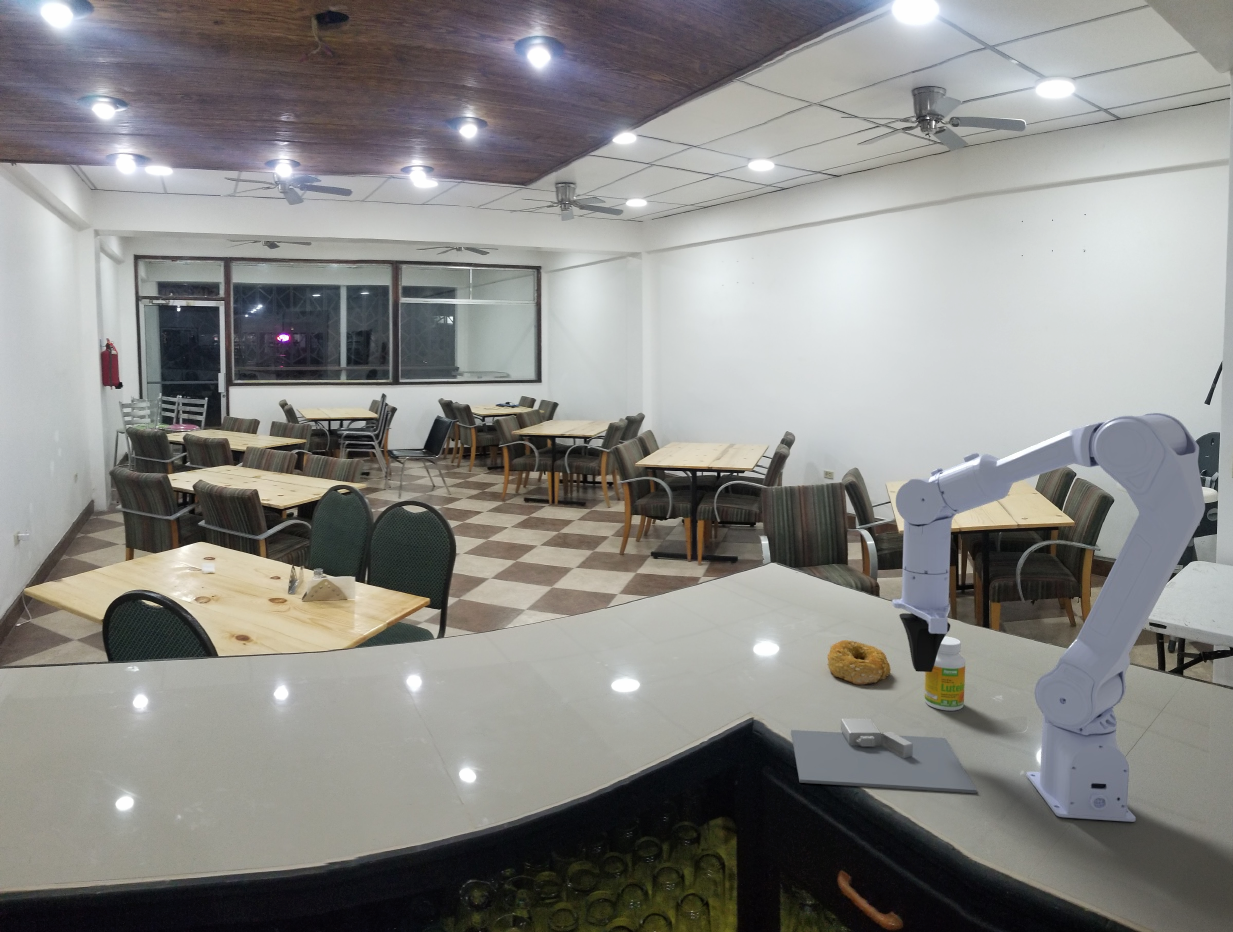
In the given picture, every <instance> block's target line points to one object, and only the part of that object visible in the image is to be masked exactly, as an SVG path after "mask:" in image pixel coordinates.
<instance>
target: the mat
mask: <svg viewBox="0 0 1233 932" xmlns="http://www.w3.org/2000/svg"><path fill="white" fill-rule="evenodd" d="M790 734H791V738H792V739H791V740H792V746H793V751H794V757H795V763H796V770H797V774H798V781H799V783H802V784H803V783H805V784H817V785H818V784H819V785H820V784H821V785H831V786H832V785H836V786H848V787H849V786H850V787H851V786H853V787H865V788H866V787H867V788H868V787H869V788H880V789H881V788H883V789H899V790H900V789H901V790H915V791H934V792H945V793H946V792H949V793H950V792H951V793H964V794H966V793H968V794H977V792H978V791H977V788H976V787H975V785H974V783H973V782H972V779H971V778H970V776H969V775H968V773H967V772H966V770H965V769H964V767H963V765H962V764H961V761H960V760H959V758H958V757H957V755H956V753H955V752H954V749H952V747H951V745H950V744H949V742H948V740H947V738H946V737H935V736H917V735H916V736H914V735H899V736H900V737H902V738H903V739H905V740H907V741H909V742H911V743H912V744H913V756H911V757H907V758H902V757H900V756H899V755H897V754H895V753H893V752H892V751H890V750H888V749H886V748H885V747H883V746H882V745H875V746H861V745H850V744H849V743H848V741H847V740H846V738H845V736H844V734H843V733H842V731H841V732H838V731H837V732H836V731H818V730H801V729H800V730H799V729H798V730H797V729H791V731H790Z"/></svg>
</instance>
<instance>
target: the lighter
mask: <svg viewBox="0 0 1233 932" xmlns="http://www.w3.org/2000/svg"><path fill="white" fill-rule="evenodd" d="M840 731H841V733H843V734H844V736H845V738H846V740H847V741H848V743H849V744H850V745H861V746H875V745H882V746H883V747H885V748H886V749H888V750H890V751H892V752H893V753H895V754H897V755H899V756H900V757H902V758H907V757H911V756H913V744H912V743H911V742H909V741H907V740H905V739H903V738H902V737H900V736H901V735H898V734H896V733H894V732H893V731H886V732H882V733H881V731H880V729H878V727H877V726H876V724H875V723H874V721H873V719H871V718H841V719H840Z"/></svg>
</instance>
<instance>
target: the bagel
mask: <svg viewBox="0 0 1233 932" xmlns="http://www.w3.org/2000/svg"><path fill="white" fill-rule="evenodd" d="M826 657H827V661H828V662H827V667H828V669H829V671H830V672H831V674H832V675H833V676H834V677H836V678H838V679H840V680H841V679H842V680H845V681H847V682H849V683H853V684H855V685H859V686H861V685H862V686H863V685H866V684H867V685H869V684H875V683H877V682H879V681H881V680H885V679H886V677H888V676H889V675H890V672H891V665H890V662H888V659H887V655H886V653H885V652H883V650H881V649H879V648H878V647H876V646H873V645H868V644H865V643H861V642H858V641H854V640H847V639H845V640H840V641H838V642H835V643H834V644H832V645H831V646H830V649H829V651H828V654H827V656H826Z"/></svg>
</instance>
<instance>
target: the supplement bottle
mask: <svg viewBox="0 0 1233 932" xmlns="http://www.w3.org/2000/svg"><path fill="white" fill-rule="evenodd" d="M961 644H962V643H961V641H960V640H959V639H958V638H955V637H951V636H946V635H945V637H944V639H943V640H942V642H941V645H940V647H939V650H938V653H937V657H936V661H935V664H934V667H933V670H932V672H924V673H925V674H924V695H923V696H924V697H923V698H924V702H925V704H926V705H928V706H930V707H931V708H933V709H937V710H941V711H946V712H947V711H948V712H949V711H950V712H951V711H952V712H953V711H958V710H961V709H962V708H963V707H964V705H965V684H966V682H965V681H966V659H965V658H964V656H963V655H962V654H961V653H960V652H961V648H962V647H961Z"/></svg>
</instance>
